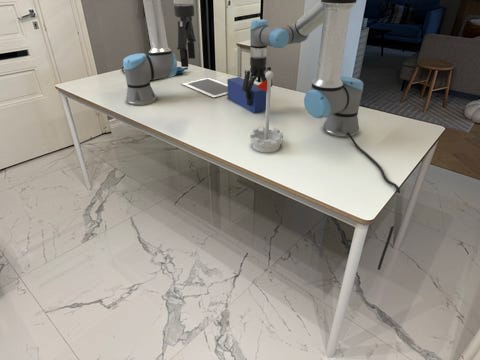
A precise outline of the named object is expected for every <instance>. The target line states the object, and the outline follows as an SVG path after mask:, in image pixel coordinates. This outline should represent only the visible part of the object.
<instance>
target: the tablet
mask: <svg viewBox="0 0 480 360" xmlns="http://www.w3.org/2000/svg"><path fill="white" fill-rule="evenodd" d="M181 85H182V86H185V87H187V88H189V89H192V90H194V91H195V92H198V93H201V94H203V95H205V96H207V97H211V98H212V99H216V98H219V97H222V96H226V95H228V84H227V83H225V82H222V81H219V80H217V79H214V78H212V77H204V78H200V79H197V80H192V81H188V82H184V83H181Z"/></svg>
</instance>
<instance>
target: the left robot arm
mask: <svg viewBox="0 0 480 360" xmlns="http://www.w3.org/2000/svg"><path fill="white" fill-rule="evenodd" d="M194 3H195V1H194V0H173V4H174V6H173V9H174V10H173V12H174V16H175V17H176V18H179V20H178V21H177V48H176V50H177V51H179V56H180V57H179V58H180V67H182V68H186V67H188V68H189V59H190V60H191V59H193V60H194V59H196V53H195V52H196V50H195V42H197V39H196V36H195V31H194V25H193V18H192V17H194V16H195V6H194ZM142 4H143V10H144V15H145V21H146V27H147V33H148V39H149V44H150V50H148V55H147V54H146V53H142V52H141V53H134V54H130V55H127V56H126V57H124V58H123V60H122V64H123V65H122V67H121V72H122V73H123V74H124V75H125V82H126V85H127V89H126V95H125V97H126V98H125V100H126V104H128V105H131V106H146V105H150V104H153V103H154V102H156V101H157V97H156V95H155V92H154V89H153V88H152V86H151V81H154V80H159V79H165V78H166V79H168V78H172V77H174V76H176V75H177V74H176V71H177V67H178V60H177V56H176V54H175V53H173V52H172V49H171V48H170V47H169V45H168V38H167V31H166V26H165V25H166V24H165V18H164V11H163V5H162V0H142ZM153 79H154V80H153Z"/></svg>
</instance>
